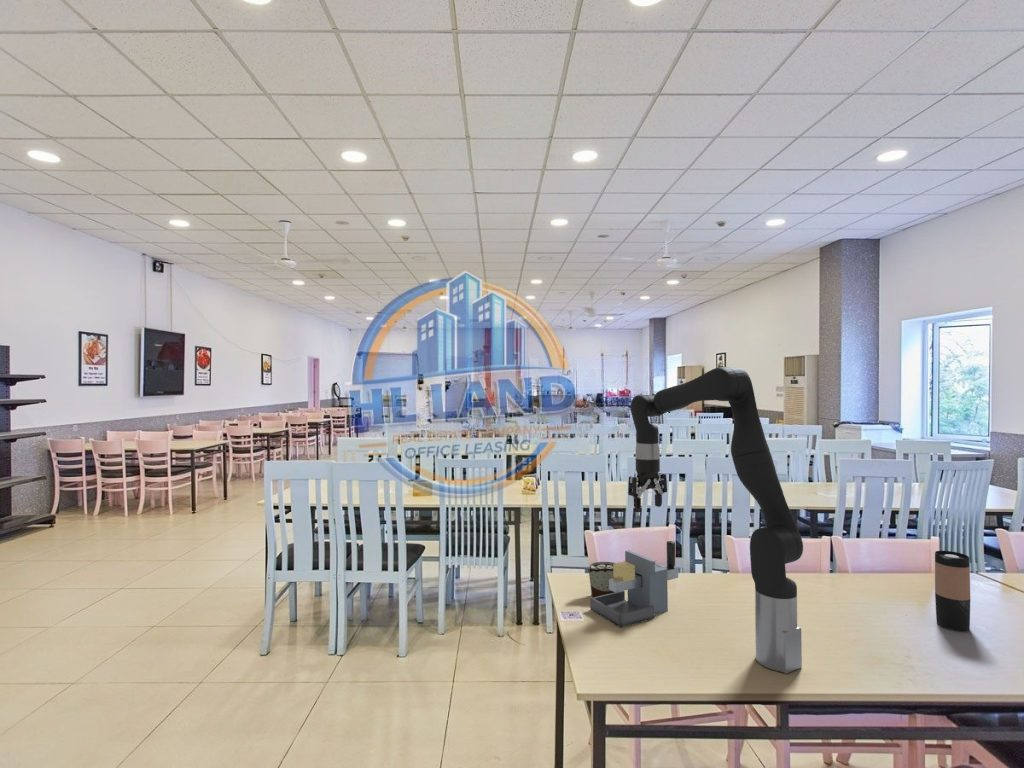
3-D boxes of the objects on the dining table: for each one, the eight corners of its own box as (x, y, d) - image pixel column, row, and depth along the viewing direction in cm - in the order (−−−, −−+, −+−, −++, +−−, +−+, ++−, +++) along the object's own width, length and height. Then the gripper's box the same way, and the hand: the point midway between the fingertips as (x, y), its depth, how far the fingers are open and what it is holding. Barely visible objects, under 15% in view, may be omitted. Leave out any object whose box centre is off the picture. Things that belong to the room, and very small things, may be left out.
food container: (624, 591, 175) (623, 561, 175) (626, 599, 168) (625, 567, 169) (586, 590, 176) (586, 560, 176) (587, 597, 170) (586, 566, 170)
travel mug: (961, 621, 151) (960, 551, 151) (977, 633, 143) (976, 559, 144) (930, 618, 153) (929, 549, 153) (943, 630, 145) (942, 557, 146)
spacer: (635, 579, 157) (634, 565, 157) (623, 581, 155) (623, 568, 155) (625, 574, 161) (624, 561, 161) (613, 577, 159) (613, 563, 159)
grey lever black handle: (678, 577, 166) (677, 542, 166) (615, 592, 155) (615, 555, 155) (671, 574, 169) (670, 540, 169) (609, 589, 157) (608, 552, 157)
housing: (670, 612, 158) (669, 558, 159) (652, 616, 155) (651, 561, 155) (642, 598, 169) (642, 547, 169) (625, 602, 166) (625, 550, 166)
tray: (654, 618, 154) (654, 606, 154) (620, 627, 148) (620, 615, 148) (623, 601, 167) (622, 590, 167) (590, 609, 161) (590, 598, 161)
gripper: (638, 460, 162) (639, 512, 162) (672, 456, 169) (673, 507, 169) (622, 457, 169) (623, 508, 169) (655, 454, 176) (656, 503, 175)
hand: (648, 507), depth 169 cm, fingers open, 8 cm apart
